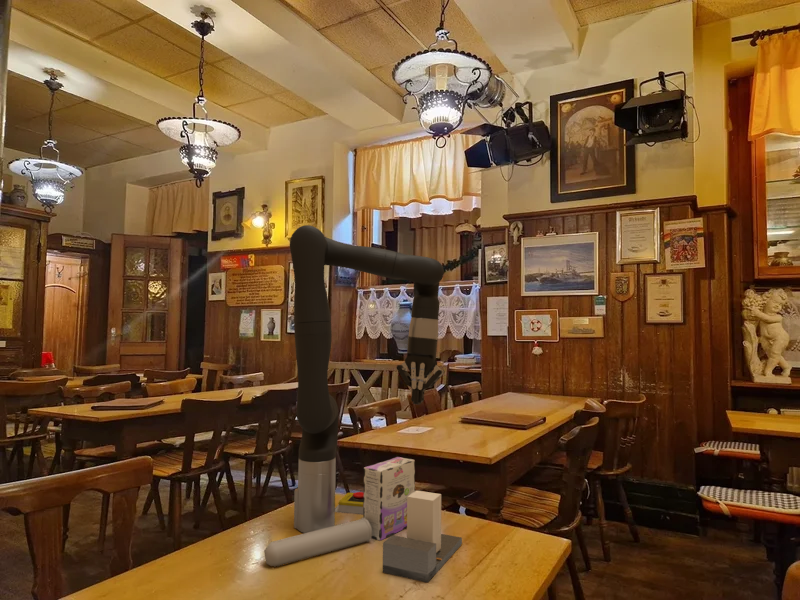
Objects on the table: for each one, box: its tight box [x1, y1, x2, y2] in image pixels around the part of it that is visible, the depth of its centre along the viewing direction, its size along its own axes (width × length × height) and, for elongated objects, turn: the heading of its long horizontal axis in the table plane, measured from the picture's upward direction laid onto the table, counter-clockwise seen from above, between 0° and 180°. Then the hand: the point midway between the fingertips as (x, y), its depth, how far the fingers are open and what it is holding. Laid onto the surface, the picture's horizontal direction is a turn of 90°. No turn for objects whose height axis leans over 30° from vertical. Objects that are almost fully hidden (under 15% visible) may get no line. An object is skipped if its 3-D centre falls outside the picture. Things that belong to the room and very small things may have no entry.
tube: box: [263, 517, 372, 568], centre depth 121 cm, size 5×5×25 cm
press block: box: [406, 489, 442, 553], centre depth 119 cm, size 6×5×12 cm
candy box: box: [362, 456, 416, 542], centre depth 135 cm, size 14×6×16 cm, turn 142°
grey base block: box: [382, 533, 463, 583], centre depth 119 cm, size 10×21×6 cm, turn 155°
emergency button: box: [335, 491, 364, 516], centre depth 150 cm, size 9×4×15 cm
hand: (417, 404), depth 139 cm, fingers closed
